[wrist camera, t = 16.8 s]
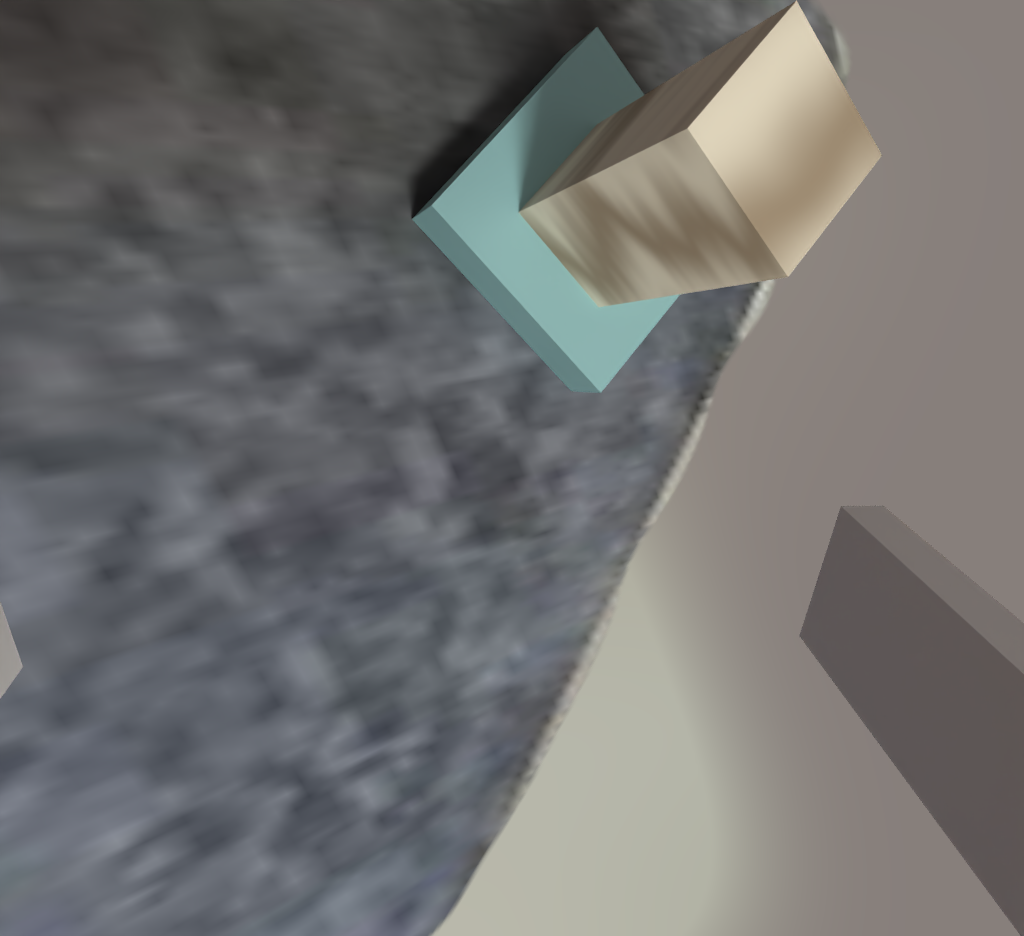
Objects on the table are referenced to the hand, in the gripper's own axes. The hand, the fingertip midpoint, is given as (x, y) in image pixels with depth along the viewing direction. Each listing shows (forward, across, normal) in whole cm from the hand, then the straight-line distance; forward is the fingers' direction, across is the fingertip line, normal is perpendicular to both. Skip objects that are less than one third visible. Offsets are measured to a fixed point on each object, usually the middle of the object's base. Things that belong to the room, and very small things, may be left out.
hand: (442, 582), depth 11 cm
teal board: (+28, +8, +2) cm, 29 cm away
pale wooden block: (+25, +8, +3) cm, 27 cm away
